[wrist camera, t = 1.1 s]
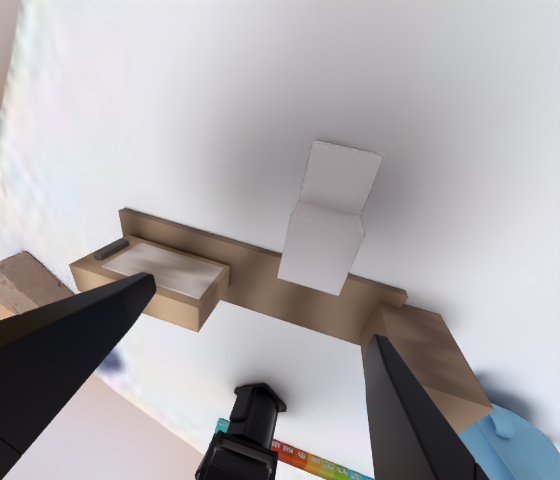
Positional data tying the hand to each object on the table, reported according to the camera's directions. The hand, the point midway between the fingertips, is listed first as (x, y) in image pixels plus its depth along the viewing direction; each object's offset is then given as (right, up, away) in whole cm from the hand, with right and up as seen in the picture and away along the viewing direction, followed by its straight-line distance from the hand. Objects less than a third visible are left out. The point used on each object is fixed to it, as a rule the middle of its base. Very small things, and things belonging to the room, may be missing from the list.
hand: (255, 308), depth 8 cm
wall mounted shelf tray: (-10, +1, +15) cm, 18 cm away
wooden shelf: (0, -2, +15) cm, 15 cm away
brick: (-34, -7, +27) cm, 44 cm away
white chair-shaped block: (+5, +6, +10) cm, 13 cm away
